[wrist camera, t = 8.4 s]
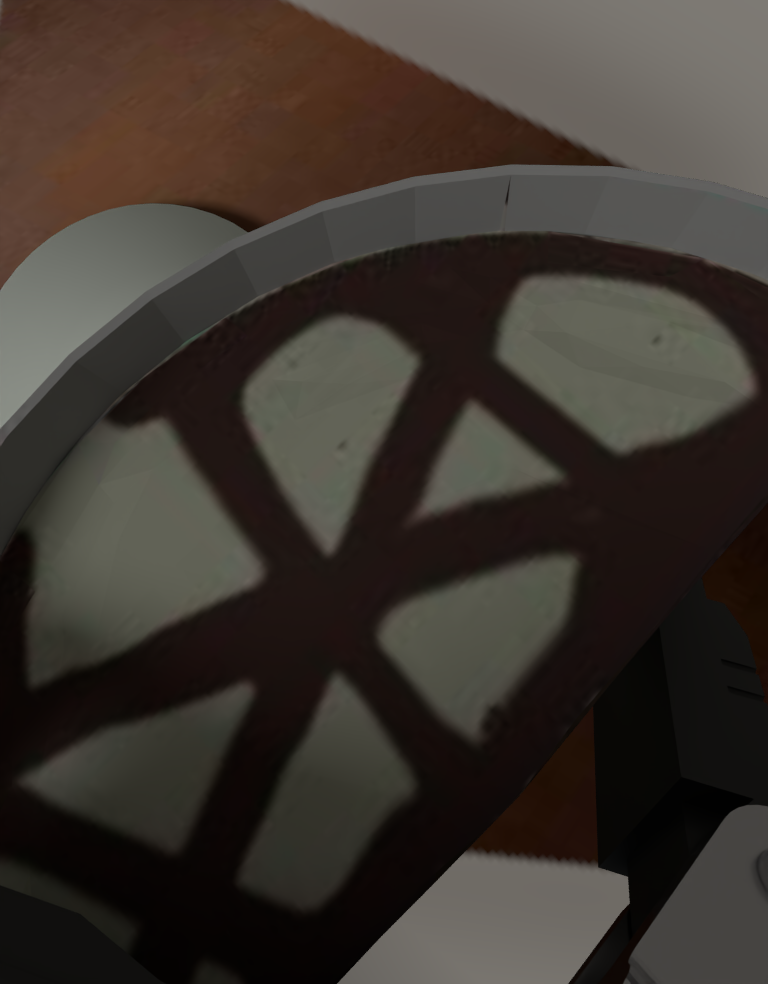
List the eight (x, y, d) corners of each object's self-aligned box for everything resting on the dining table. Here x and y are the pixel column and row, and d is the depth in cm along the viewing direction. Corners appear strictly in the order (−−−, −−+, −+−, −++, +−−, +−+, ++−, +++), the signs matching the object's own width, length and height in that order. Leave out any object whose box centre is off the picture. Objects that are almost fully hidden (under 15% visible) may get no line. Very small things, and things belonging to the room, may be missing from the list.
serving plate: (356, 259, 28) (353, 245, 27) (260, 580, 26) (252, 581, 25) (55, 188, 29) (40, 172, 28) (-55, 488, 28) (-76, 485, 26)
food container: (447, 326, 16) (493, -118, 6) (633, 487, 15) (1046, 268, 5) (97, 678, 15) (-533, 831, 5) (272, 877, 14) (-87, 1554, 4)
